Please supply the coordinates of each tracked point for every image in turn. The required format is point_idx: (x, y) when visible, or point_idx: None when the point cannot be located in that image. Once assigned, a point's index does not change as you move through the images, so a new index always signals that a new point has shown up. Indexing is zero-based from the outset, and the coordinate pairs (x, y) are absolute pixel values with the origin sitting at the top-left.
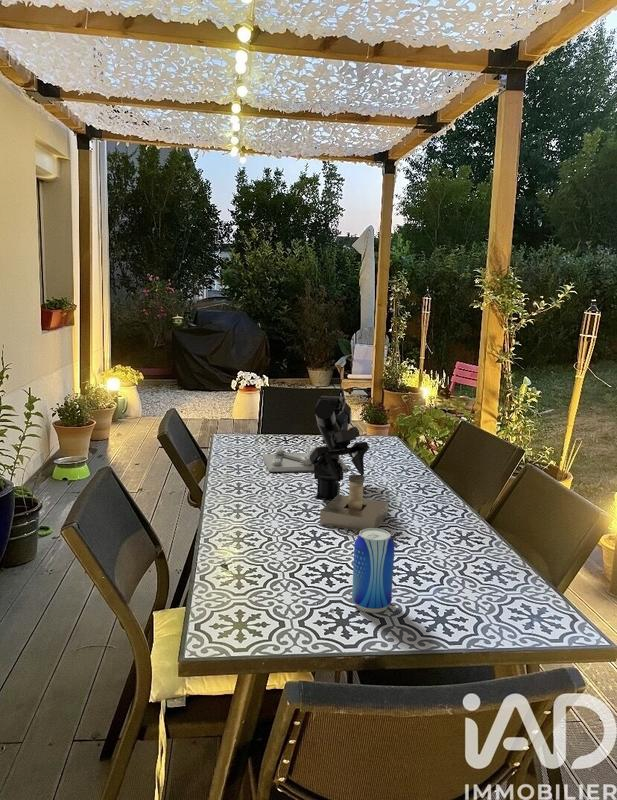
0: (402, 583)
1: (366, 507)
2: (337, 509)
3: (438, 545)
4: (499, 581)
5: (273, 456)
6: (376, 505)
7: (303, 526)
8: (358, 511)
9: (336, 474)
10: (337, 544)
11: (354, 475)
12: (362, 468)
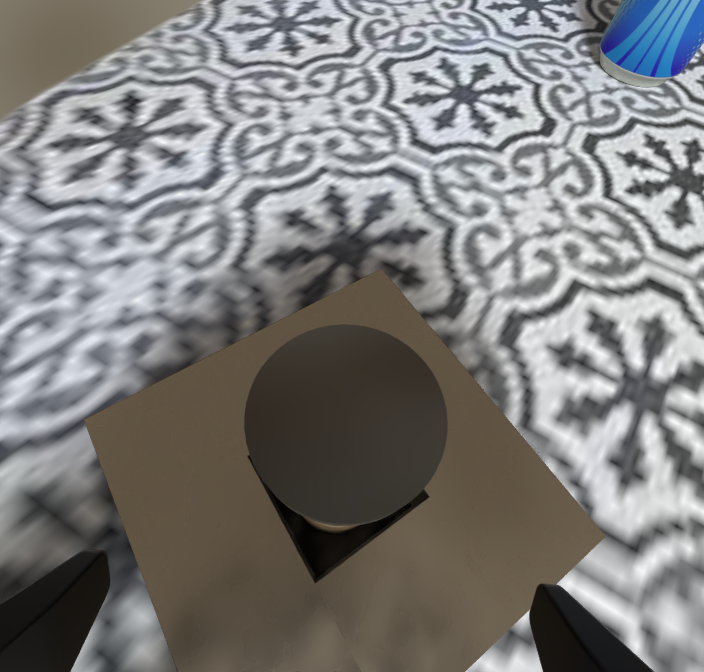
0: (518, 81)
1: None
2: (483, 492)
3: (257, 142)
4: (314, 8)
5: None
6: (203, 415)
7: (660, 562)
8: None
9: (592, 624)
10: (574, 303)
11: (334, 474)
12: (17, 613)
